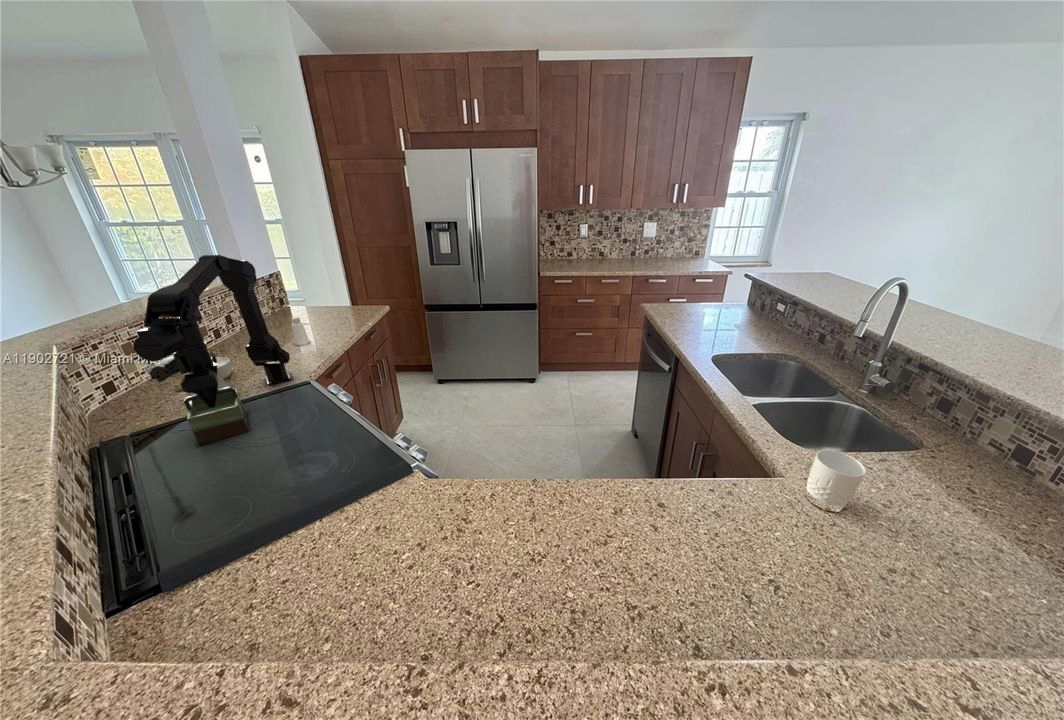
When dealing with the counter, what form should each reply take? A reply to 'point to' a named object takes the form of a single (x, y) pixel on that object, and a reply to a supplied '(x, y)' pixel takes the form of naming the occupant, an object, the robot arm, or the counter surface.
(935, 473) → the counter surface
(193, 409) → the top basket
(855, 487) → the white cup
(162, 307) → the robot arm
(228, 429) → the bottom basket
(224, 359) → the ramekin
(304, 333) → the pepper shaker
